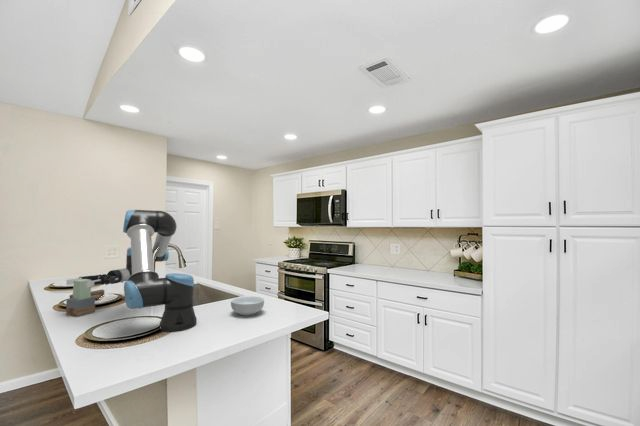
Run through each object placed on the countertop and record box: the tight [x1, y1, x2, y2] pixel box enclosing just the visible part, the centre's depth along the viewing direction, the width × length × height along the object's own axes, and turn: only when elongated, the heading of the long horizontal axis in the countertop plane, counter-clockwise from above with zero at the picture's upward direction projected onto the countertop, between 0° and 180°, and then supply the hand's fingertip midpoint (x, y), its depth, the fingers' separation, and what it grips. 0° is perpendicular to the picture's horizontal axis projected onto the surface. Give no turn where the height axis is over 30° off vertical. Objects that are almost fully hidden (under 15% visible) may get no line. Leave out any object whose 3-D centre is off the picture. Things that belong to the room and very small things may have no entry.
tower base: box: [65, 304, 96, 318], centre depth 144 cm, size 8×8×4 cm
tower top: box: [65, 296, 96, 309], centre depth 145 cm, size 8×8×4 cm
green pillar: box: [72, 279, 92, 300], centre depth 145 cm, size 5×5×9 cm
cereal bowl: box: [230, 295, 265, 317], centre depth 149 cm, size 17×17×7 cm
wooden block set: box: [69, 289, 105, 299], centre depth 167 cm, size 17×6×18 cm
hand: (76, 283), depth 142 cm, fingers open, 13 cm apart
